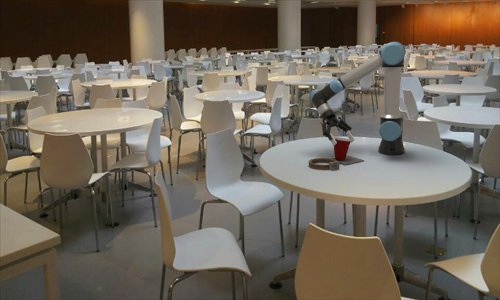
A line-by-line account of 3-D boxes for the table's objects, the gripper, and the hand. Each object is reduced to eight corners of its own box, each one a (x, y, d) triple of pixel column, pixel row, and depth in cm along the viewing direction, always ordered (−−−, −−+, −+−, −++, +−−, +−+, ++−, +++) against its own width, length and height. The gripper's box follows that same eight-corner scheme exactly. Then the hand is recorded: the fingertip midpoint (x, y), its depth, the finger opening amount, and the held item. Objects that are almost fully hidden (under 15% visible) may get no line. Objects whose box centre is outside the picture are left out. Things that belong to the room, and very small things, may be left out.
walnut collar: (324, 160, 285) (324, 153, 284) (346, 167, 270) (346, 160, 269) (303, 165, 277) (303, 158, 276) (324, 172, 262) (324, 165, 261)
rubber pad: (346, 156, 293) (346, 155, 293) (363, 161, 281) (363, 160, 281) (328, 160, 285) (328, 159, 285) (345, 165, 274) (345, 164, 274)
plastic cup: (350, 161, 276) (352, 139, 275) (330, 159, 278) (332, 138, 277) (350, 158, 287) (352, 138, 285) (331, 157, 289) (333, 136, 287)
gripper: (339, 114, 300) (356, 143, 291) (306, 119, 287) (324, 149, 278) (345, 106, 294) (363, 135, 285) (312, 111, 281) (330, 142, 272)
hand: (344, 142), depth 282 cm, fingers open, 13 cm apart
